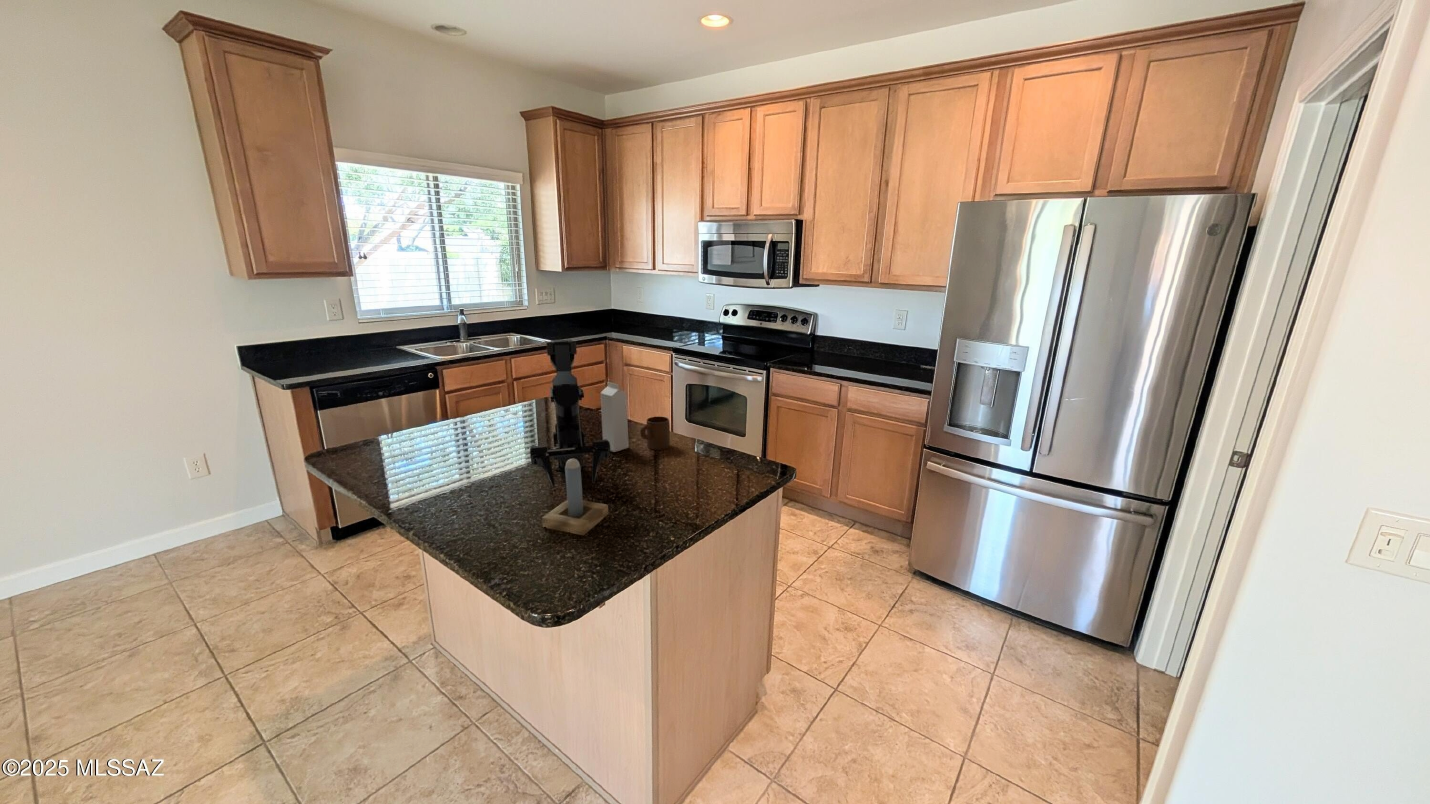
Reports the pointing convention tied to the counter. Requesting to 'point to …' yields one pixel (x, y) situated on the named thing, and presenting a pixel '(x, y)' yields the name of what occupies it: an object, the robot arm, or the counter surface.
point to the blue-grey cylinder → (574, 488)
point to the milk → (614, 417)
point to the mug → (657, 433)
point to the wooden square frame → (581, 526)
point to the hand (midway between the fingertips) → (573, 484)
